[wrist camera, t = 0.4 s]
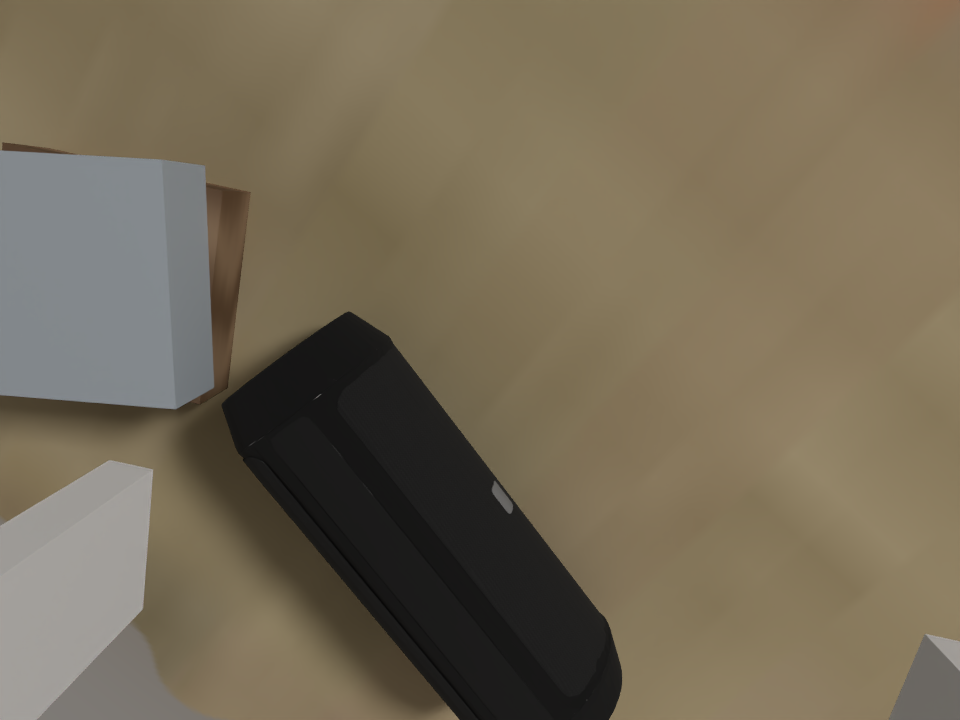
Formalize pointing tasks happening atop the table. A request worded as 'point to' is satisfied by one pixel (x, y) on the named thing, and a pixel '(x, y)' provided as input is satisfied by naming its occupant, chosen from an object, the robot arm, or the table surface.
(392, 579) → the portable speaker
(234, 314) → the tower base
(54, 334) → the tower top
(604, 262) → the table surface
